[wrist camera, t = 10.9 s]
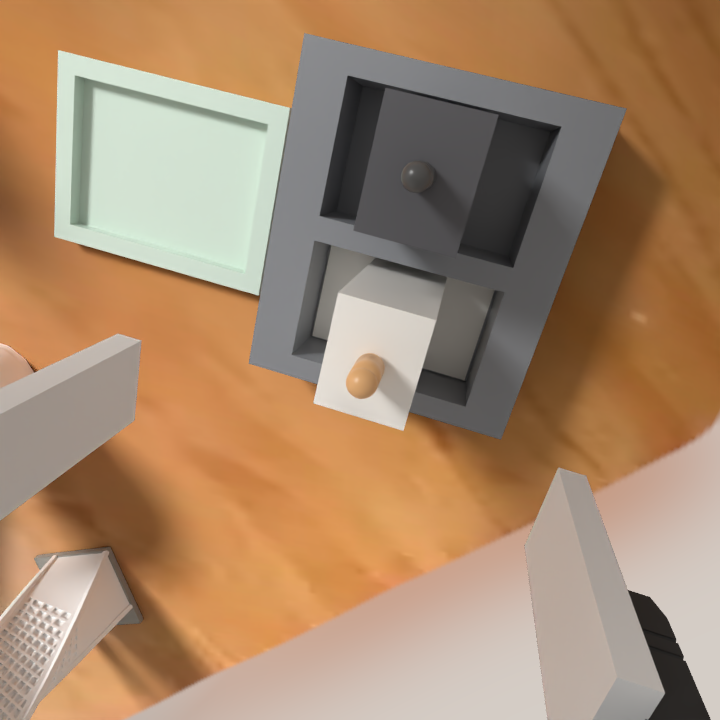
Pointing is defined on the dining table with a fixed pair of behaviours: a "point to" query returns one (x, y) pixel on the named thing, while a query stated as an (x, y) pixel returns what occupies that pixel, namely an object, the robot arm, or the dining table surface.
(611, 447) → the dining table surface
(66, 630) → the skyscraper
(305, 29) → the dining table surface
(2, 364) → the foam cup
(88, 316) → the dining table surface
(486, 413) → the grey desk organizer
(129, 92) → the tray
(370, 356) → the white block with knob
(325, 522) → the dining table surface
